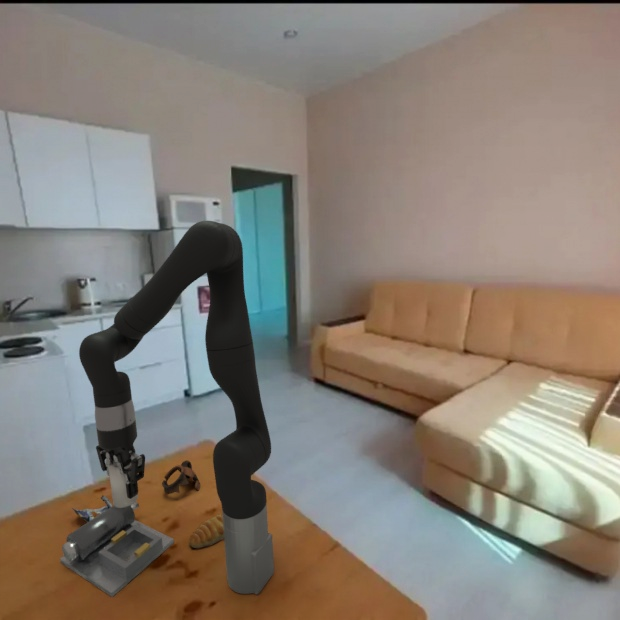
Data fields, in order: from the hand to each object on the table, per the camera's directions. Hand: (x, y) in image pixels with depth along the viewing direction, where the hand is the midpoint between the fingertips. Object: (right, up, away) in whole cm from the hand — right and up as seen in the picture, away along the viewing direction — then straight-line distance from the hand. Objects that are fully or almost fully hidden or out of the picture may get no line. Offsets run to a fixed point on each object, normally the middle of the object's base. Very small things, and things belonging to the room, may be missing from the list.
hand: (124, 492), depth 83 cm
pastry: (+17, -16, +9) cm, 25 cm away
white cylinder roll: (0, -2, 0) cm, 2 cm away
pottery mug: (+3, -13, +29) cm, 31 cm away
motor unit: (-4, -17, +5) cm, 18 cm away
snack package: (-14, -16, +16) cm, 27 cm away
